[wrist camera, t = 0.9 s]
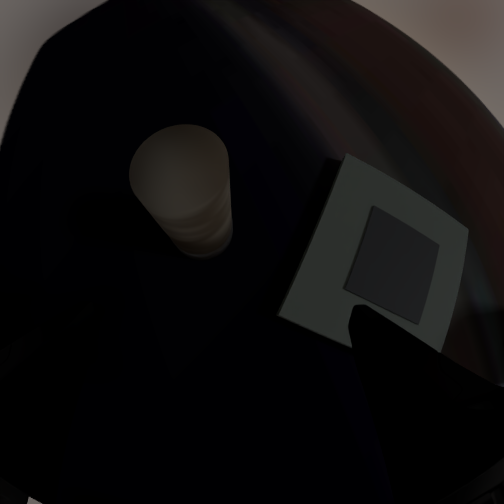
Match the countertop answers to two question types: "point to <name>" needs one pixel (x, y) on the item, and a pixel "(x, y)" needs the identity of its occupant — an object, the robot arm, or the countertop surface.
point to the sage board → (378, 259)
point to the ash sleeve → (186, 188)
